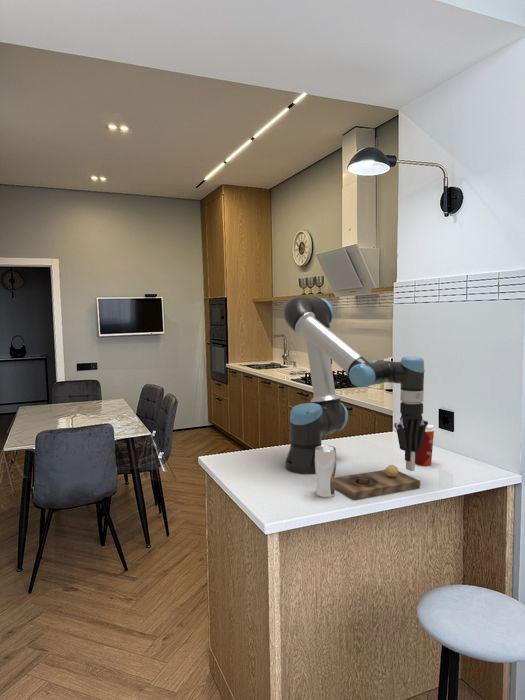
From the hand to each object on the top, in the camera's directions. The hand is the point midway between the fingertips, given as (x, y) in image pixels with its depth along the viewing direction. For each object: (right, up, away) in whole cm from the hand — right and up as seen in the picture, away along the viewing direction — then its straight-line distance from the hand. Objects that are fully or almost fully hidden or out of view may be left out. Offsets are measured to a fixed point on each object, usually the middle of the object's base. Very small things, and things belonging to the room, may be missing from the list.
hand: (410, 469), depth 169 cm
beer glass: (-31, -5, -12) cm, 33 cm away
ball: (-7, 0, -3) cm, 8 cm away
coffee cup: (+11, -3, +19) cm, 22 cm away
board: (-14, -4, -6) cm, 15 cm away
